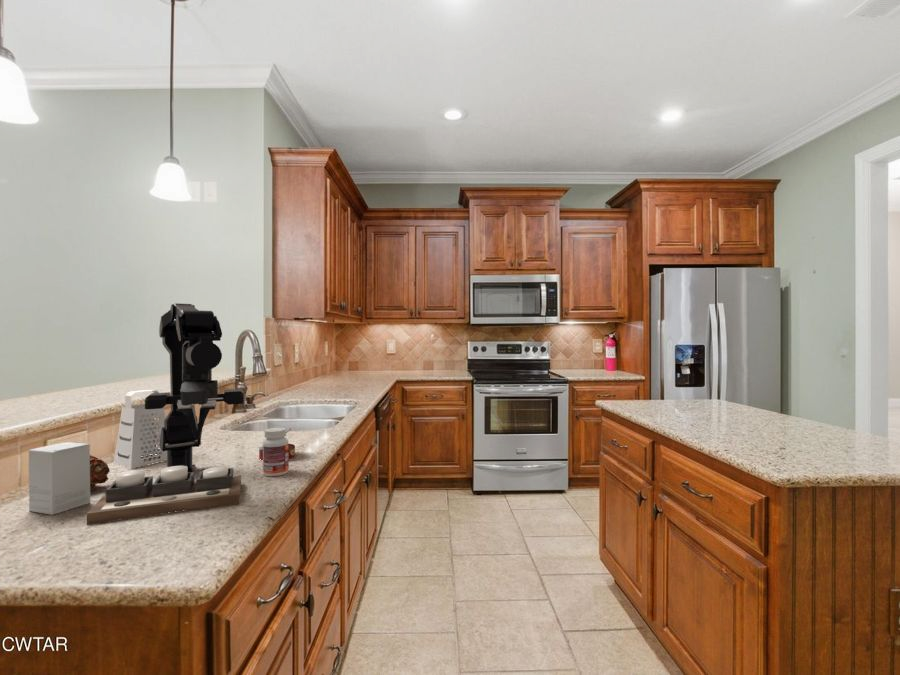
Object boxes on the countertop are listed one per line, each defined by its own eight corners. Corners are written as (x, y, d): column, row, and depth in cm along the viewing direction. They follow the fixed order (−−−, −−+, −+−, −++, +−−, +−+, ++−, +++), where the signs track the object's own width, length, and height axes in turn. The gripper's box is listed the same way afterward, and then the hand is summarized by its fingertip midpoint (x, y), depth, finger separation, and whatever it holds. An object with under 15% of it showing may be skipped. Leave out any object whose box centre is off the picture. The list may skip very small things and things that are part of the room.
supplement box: (91, 503, 97) (91, 443, 97) (51, 516, 90) (51, 451, 90) (68, 499, 99) (68, 441, 99) (27, 511, 92) (27, 449, 92)
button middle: (163, 478, 100) (163, 467, 100) (189, 475, 102) (189, 464, 102) (158, 484, 96) (158, 473, 96) (185, 481, 98) (185, 470, 98)
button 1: (119, 482, 97) (119, 471, 97) (147, 479, 99) (146, 468, 99) (112, 489, 93) (112, 478, 93) (141, 486, 95) (141, 475, 95)
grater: (172, 460, 131) (172, 390, 131) (131, 469, 122) (130, 394, 122) (154, 455, 136) (153, 388, 136) (113, 463, 127) (113, 391, 127)
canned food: (279, 478, 129) (266, 451, 124) (257, 468, 134) (244, 442, 130) (308, 452, 137) (298, 425, 133) (286, 444, 142) (275, 418, 138)
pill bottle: (291, 474, 117) (291, 430, 117) (265, 478, 113) (265, 432, 113) (285, 468, 122) (285, 426, 122) (260, 472, 118) (260, 428, 118)
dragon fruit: (112, 495, 106) (51, 508, 103) (121, 466, 112) (64, 477, 109) (97, 472, 101) (32, 485, 98) (107, 443, 107) (46, 454, 104)
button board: (108, 499, 99) (108, 479, 99) (240, 484, 109) (240, 465, 109) (86, 524, 86) (86, 500, 86) (238, 503, 96) (238, 482, 96)
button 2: (204, 478, 104) (204, 468, 104) (228, 476, 106) (228, 465, 106) (201, 485, 99) (201, 474, 99) (227, 482, 101) (227, 471, 101)
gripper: (139, 371, 90) (139, 450, 90) (243, 368, 97) (243, 441, 97) (149, 367, 100) (150, 438, 100) (243, 365, 107) (243, 431, 108)
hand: (197, 437), depth 101 cm, fingers closed
